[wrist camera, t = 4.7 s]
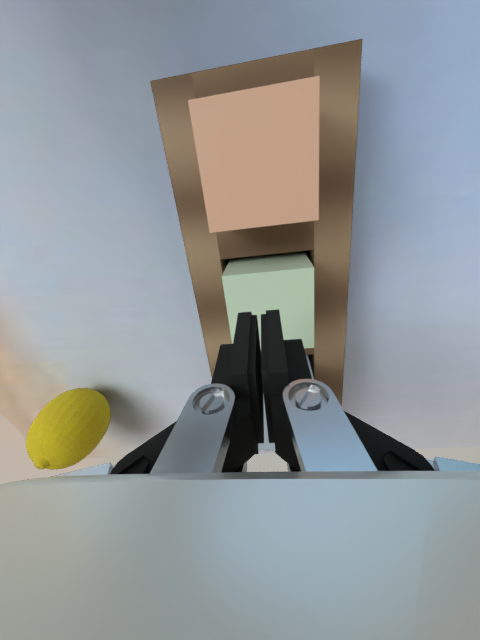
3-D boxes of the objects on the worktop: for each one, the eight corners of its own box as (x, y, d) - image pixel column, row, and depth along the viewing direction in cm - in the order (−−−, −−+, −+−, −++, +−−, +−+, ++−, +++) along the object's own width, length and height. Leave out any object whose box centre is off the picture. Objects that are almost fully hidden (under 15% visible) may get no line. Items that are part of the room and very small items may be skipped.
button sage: (231, 255, 19) (221, 276, 15) (302, 248, 19) (314, 267, 14) (240, 318, 21) (233, 352, 17) (303, 313, 21) (314, 347, 16)
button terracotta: (211, 126, 15) (187, 99, 10) (302, 111, 14) (319, 75, 10) (224, 221, 17) (209, 233, 13) (304, 211, 16) (318, 220, 12)
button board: (169, 99, 16) (150, 81, 13) (344, 66, 15) (362, 38, 12) (227, 404, 26) (222, 429, 23) (332, 401, 25) (340, 427, 22)
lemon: (60, 385, 27) (-14, 457, 20) (96, 362, 25) (29, 431, 18) (100, 420, 29) (45, 497, 22) (136, 401, 27) (89, 477, 20)
